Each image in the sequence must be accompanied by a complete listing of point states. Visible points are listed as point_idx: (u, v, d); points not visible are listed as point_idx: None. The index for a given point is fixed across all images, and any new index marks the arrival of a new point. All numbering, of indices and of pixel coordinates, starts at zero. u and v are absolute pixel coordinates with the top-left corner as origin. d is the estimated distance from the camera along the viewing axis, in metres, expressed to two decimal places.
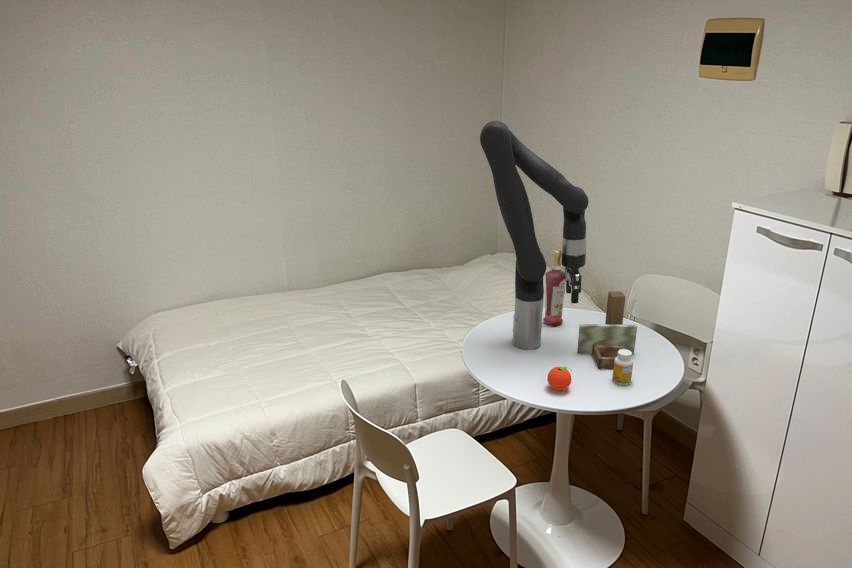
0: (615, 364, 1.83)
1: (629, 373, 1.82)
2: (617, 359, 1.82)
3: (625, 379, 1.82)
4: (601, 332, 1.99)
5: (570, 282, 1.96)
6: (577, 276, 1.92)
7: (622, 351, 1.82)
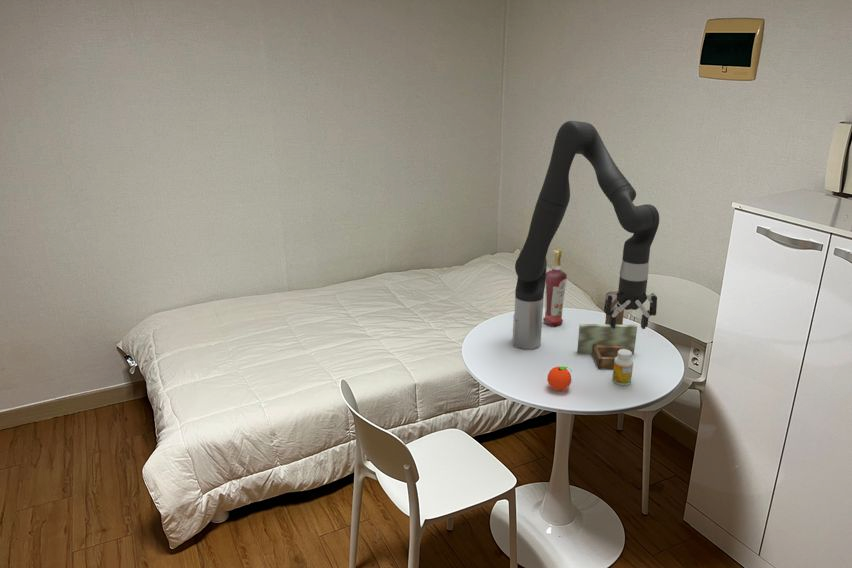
0: (615, 364, 1.83)
1: (629, 373, 1.82)
2: (617, 359, 1.82)
3: (625, 379, 1.82)
4: (601, 332, 1.99)
5: (644, 308, 1.75)
6: None
7: (622, 351, 1.82)
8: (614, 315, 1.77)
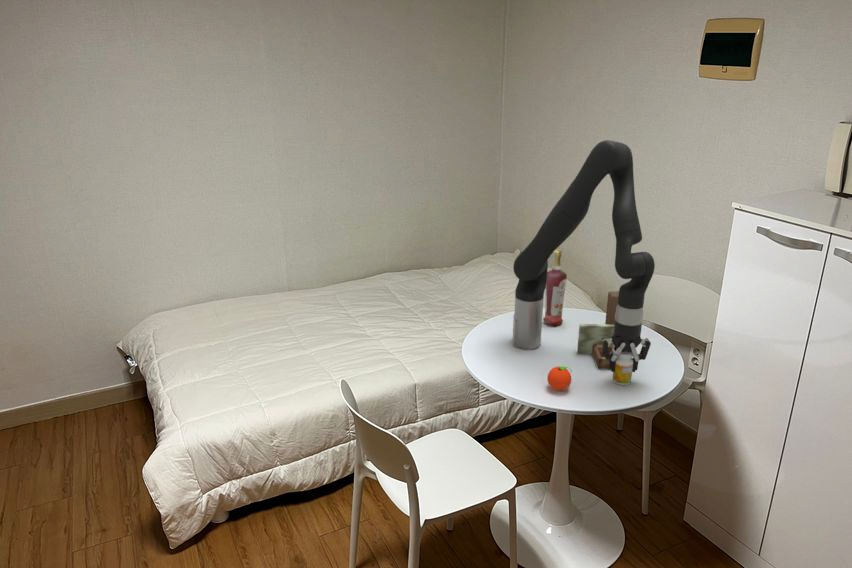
0: (615, 364, 1.83)
1: (629, 373, 1.82)
2: (617, 359, 1.82)
3: (625, 379, 1.82)
4: (601, 332, 1.99)
5: (636, 352, 1.80)
6: None
7: None
8: (613, 359, 1.82)
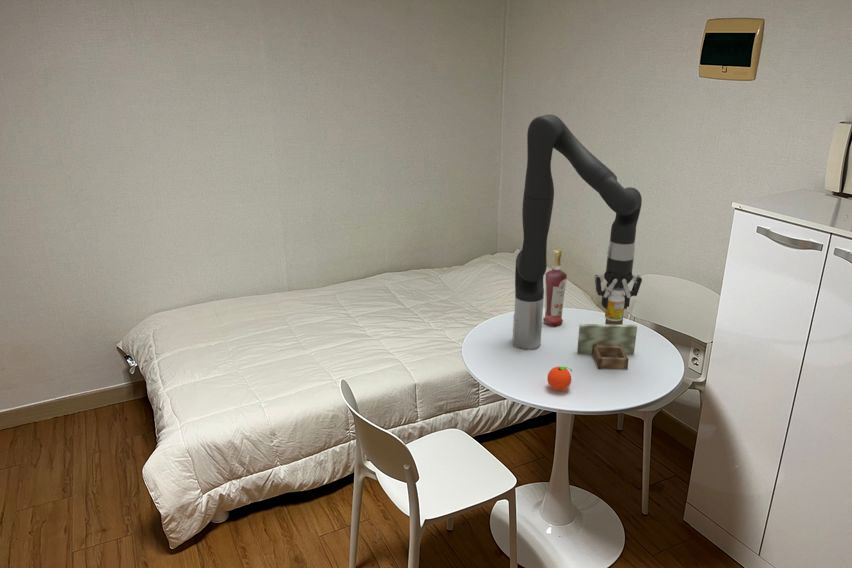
0: None
1: (621, 309, 1.87)
2: (609, 296, 1.88)
3: (617, 315, 1.88)
4: (601, 332, 1.99)
5: (628, 288, 1.86)
6: None
7: (614, 288, 1.88)
8: (606, 295, 1.87)
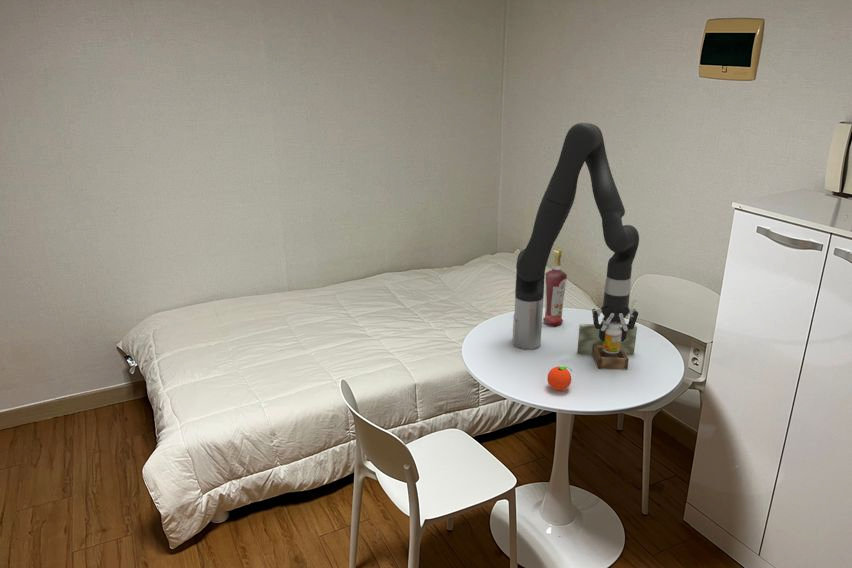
0: (605, 334, 1.93)
1: (618, 342, 1.92)
2: (606, 329, 1.92)
3: (614, 347, 1.92)
4: None
5: None
6: None
7: None
8: (603, 329, 1.91)
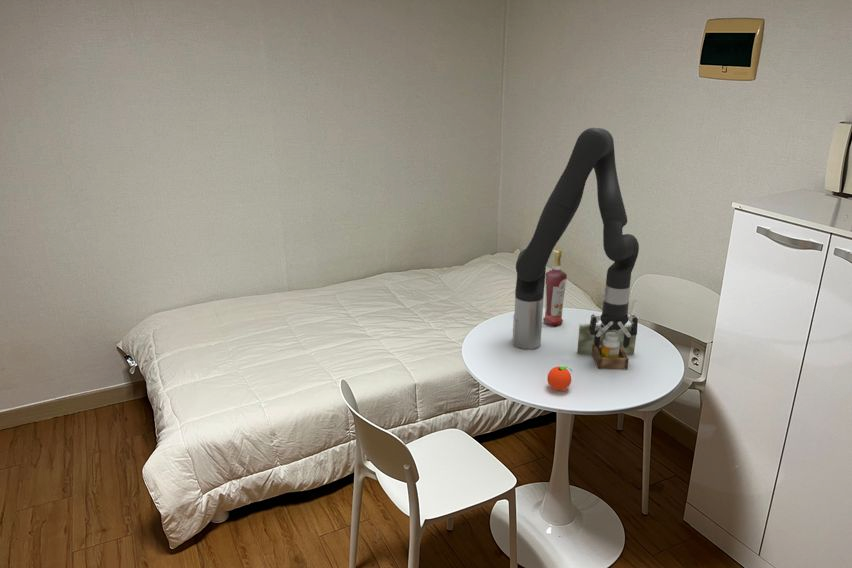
0: (603, 346, 1.94)
1: (616, 354, 1.93)
2: (605, 341, 1.94)
3: None
4: None
5: (626, 328, 1.91)
6: (636, 317, 1.91)
7: (609, 334, 1.94)
8: (598, 335, 1.92)
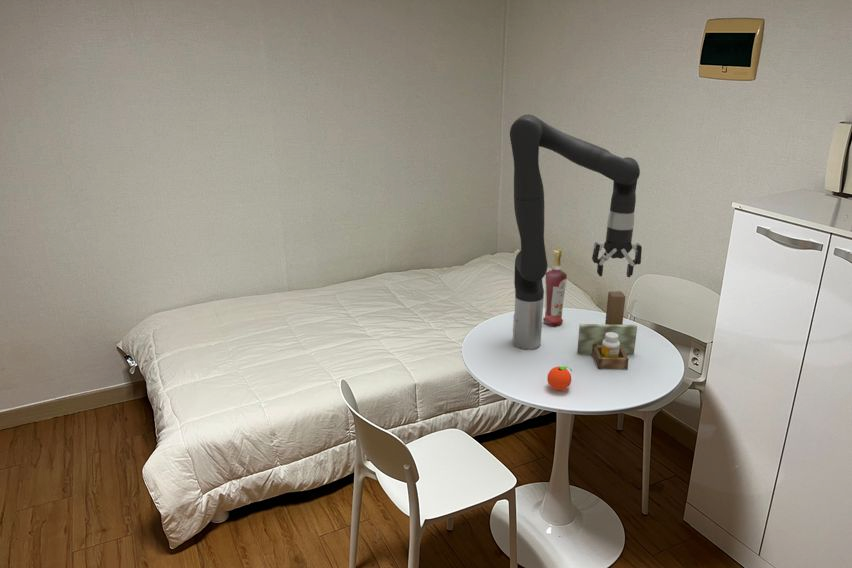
0: (603, 346, 1.94)
1: (616, 354, 1.93)
2: (605, 341, 1.94)
3: None
4: (601, 332, 1.99)
5: (629, 256, 1.88)
6: None
7: (609, 334, 1.94)
8: (601, 263, 1.89)
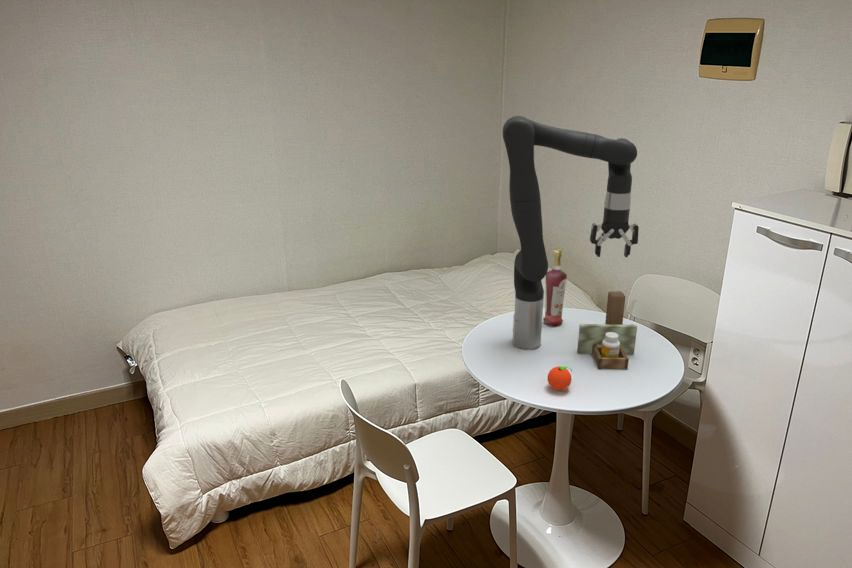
0: (603, 346, 1.94)
1: (616, 354, 1.93)
2: (605, 341, 1.94)
3: None
4: (601, 332, 1.99)
5: None
6: None
7: (609, 334, 1.94)
8: (599, 244, 1.92)
